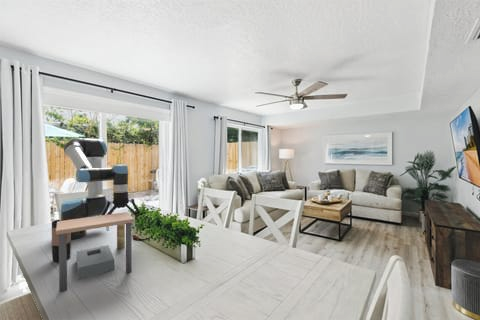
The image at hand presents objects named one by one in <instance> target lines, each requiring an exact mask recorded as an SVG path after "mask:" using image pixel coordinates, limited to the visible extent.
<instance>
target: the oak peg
mask: <svg viewBox="0 0 480 320" xmlns="http://www.w3.org/2000/svg"><path fill="white" fill-rule="evenodd" d="M116 249H117V250H123V249H126V224H120V225H116Z"/></svg>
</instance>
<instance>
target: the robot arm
mask: <svg viewBox="0 0 480 320" xmlns="http://www.w3.org/2000/svg"><path fill="white" fill-rule="evenodd" d="M107 147H108V146H107V143H106V142H105V140H104V139H99V138H87V137H85V138H82V137H75V138H72V139H70V140H68V141H67V142H66V143H65V145H64V148H63V151H64V152H63V153H65V154H64V155H66V156H67V157H68V158H70V161H71V162H72V163H73V165H74V168H75V169H76V171H75V180H76V182H78V183H87V190H88V191H87V193H88V194H87V196H86V197H85V200H84V199H82V198H75V199H71V200H67V201H64V202H62V204H61V206H60V220H64V219H70V220H72V219H79V218H87V217H94V216H101V215H109V214H113V212H115V210H117V209H121V208H125V207H126V208H127V209H128V210H129V211H130V212H131V213H133V214H132V217H133V218H134V222H132V227H136V221H137V220H138V219H137V218H138V214H141V211H140V209H139V207H138V206H137V204H136V203H135V199H134V198H132V197H131V198H129V192H128V191H129V168H128V167H129V166H128V165H127V164H114V165H113V166H111V167H103V165H102V164H103V163H102V161H103V159H104V158H105V156H106V155H107V153H108V148H107ZM105 181H112V184H113V185H112V186H113V187H112V190H113V193H112V194H113V195H112V196H113V197H112V199H113V200H112V201H111V200H110V201H109V198H108V197H106V194H104V189H103V182H105ZM129 202H130V204H132V206H133V208H134V209H135V210H134V209H132V207H131V206H130V205H129ZM111 205H113V206H112V207H111V208H110V206H111ZM109 208H110V210H109ZM109 227H110V226H107V227H105V228H106V232H109V231H110V230H109ZM85 236H87V230H83V231H77V232H71V241H72V240H76V239H80V238H82V237H85Z"/></svg>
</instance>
